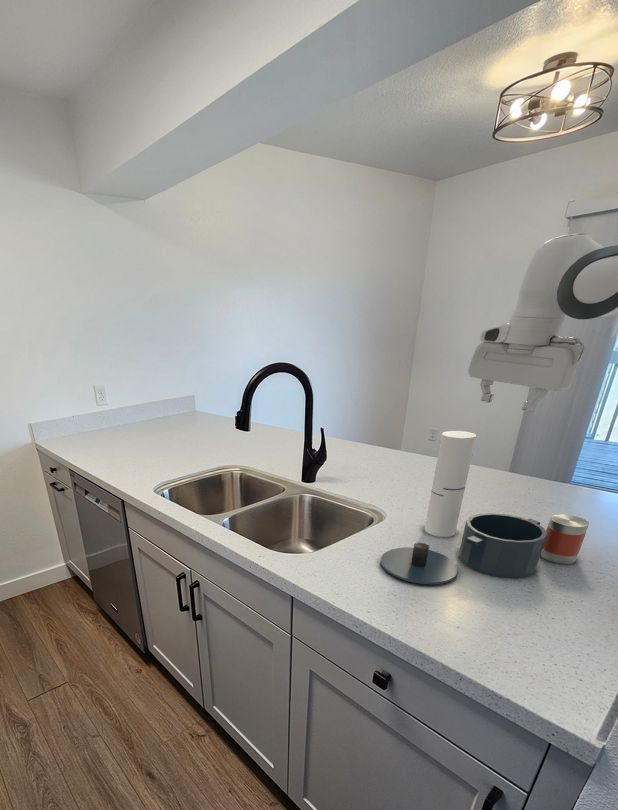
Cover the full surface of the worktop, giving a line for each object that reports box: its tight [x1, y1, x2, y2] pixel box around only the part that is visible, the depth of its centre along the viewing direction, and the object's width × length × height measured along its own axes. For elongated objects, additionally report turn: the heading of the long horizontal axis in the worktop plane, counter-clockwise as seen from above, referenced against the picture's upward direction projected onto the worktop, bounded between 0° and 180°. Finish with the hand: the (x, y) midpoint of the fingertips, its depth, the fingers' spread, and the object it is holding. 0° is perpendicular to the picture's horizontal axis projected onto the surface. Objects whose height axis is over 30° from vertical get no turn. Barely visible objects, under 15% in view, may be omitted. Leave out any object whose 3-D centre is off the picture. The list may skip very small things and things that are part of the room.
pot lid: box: [380, 542, 459, 585], centre depth 95 cm, size 16×16×6 cm
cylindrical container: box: [424, 430, 477, 538], centre depth 107 cm, size 7×7×25 cm
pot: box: [458, 512, 547, 579], centre depth 96 cm, size 15×20×8 cm
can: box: [540, 513, 590, 565], centre depth 96 cm, size 7×7×9 cm
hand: (505, 406), depth 92 cm, fingers open, 8 cm apart
